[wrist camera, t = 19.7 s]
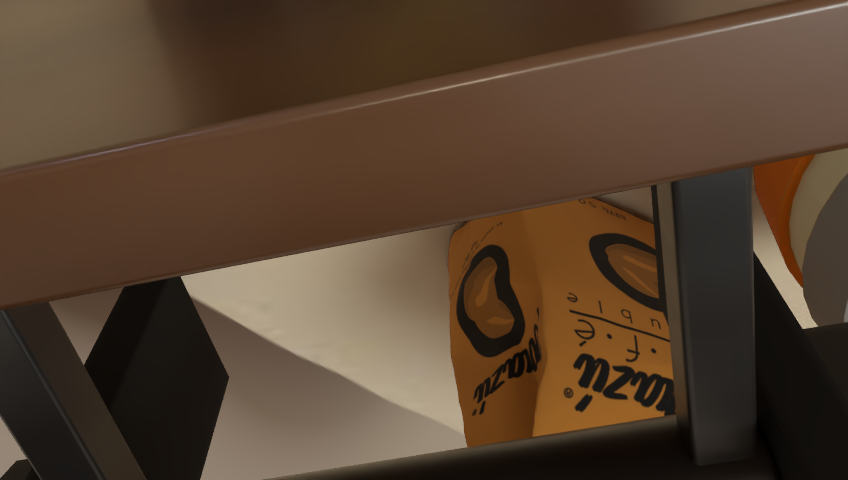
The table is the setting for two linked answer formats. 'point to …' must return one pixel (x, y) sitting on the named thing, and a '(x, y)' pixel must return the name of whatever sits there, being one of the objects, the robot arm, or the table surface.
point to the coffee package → (557, 322)
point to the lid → (399, 178)
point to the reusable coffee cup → (811, 226)
